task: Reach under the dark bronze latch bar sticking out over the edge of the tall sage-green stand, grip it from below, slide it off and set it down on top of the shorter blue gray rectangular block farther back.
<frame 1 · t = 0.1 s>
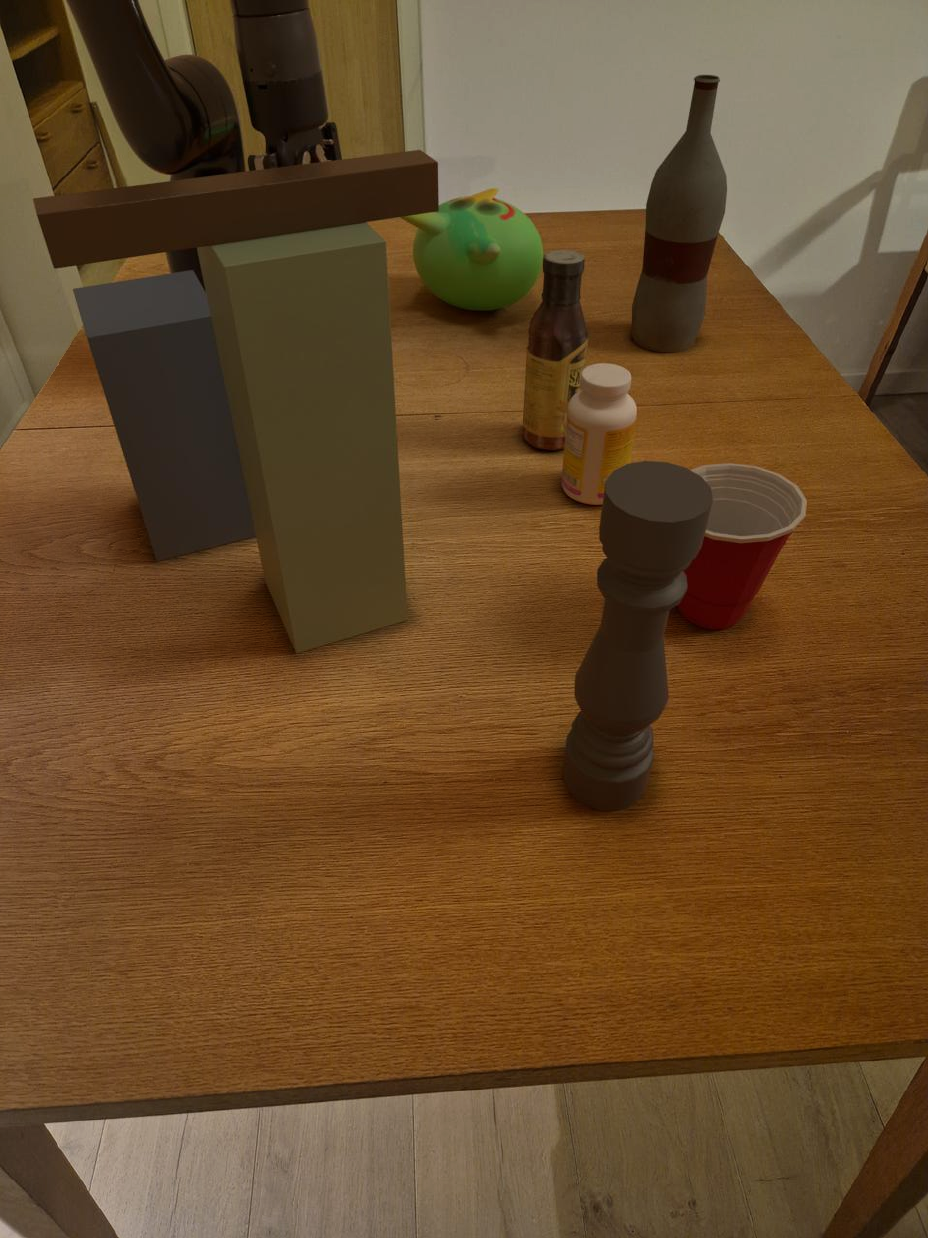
hand: (312, 246, 92), 17 cm above the table, tool pointing down, fingers open, 8 cm apart
latch bar: (253, 230, 54), point 32 cm above the table, touching tall stand
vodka: (663, 340, 115), on the table
supplement bottle: (592, 490, 89), on the table
blue gray rectangular block: (199, 519, 85), on the table
toy bird: (475, 306, 122), on the table
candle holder: (604, 777, 63), on the table
plastic cup: (706, 608, 76), on the table
tall stand: (335, 600, 77), on the table
sauce bottle: (549, 439, 97), on the table
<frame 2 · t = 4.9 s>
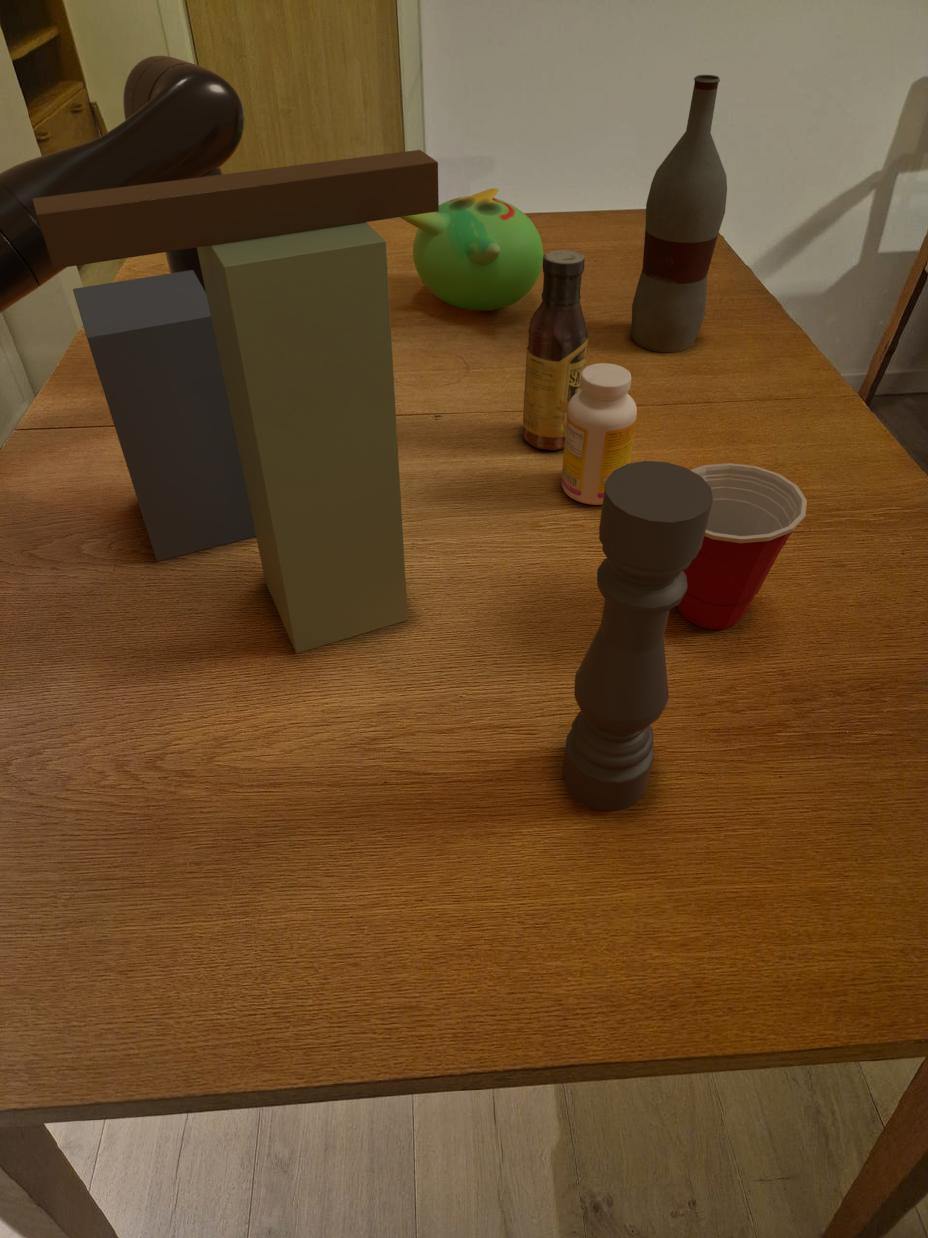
nothing on the table moved.
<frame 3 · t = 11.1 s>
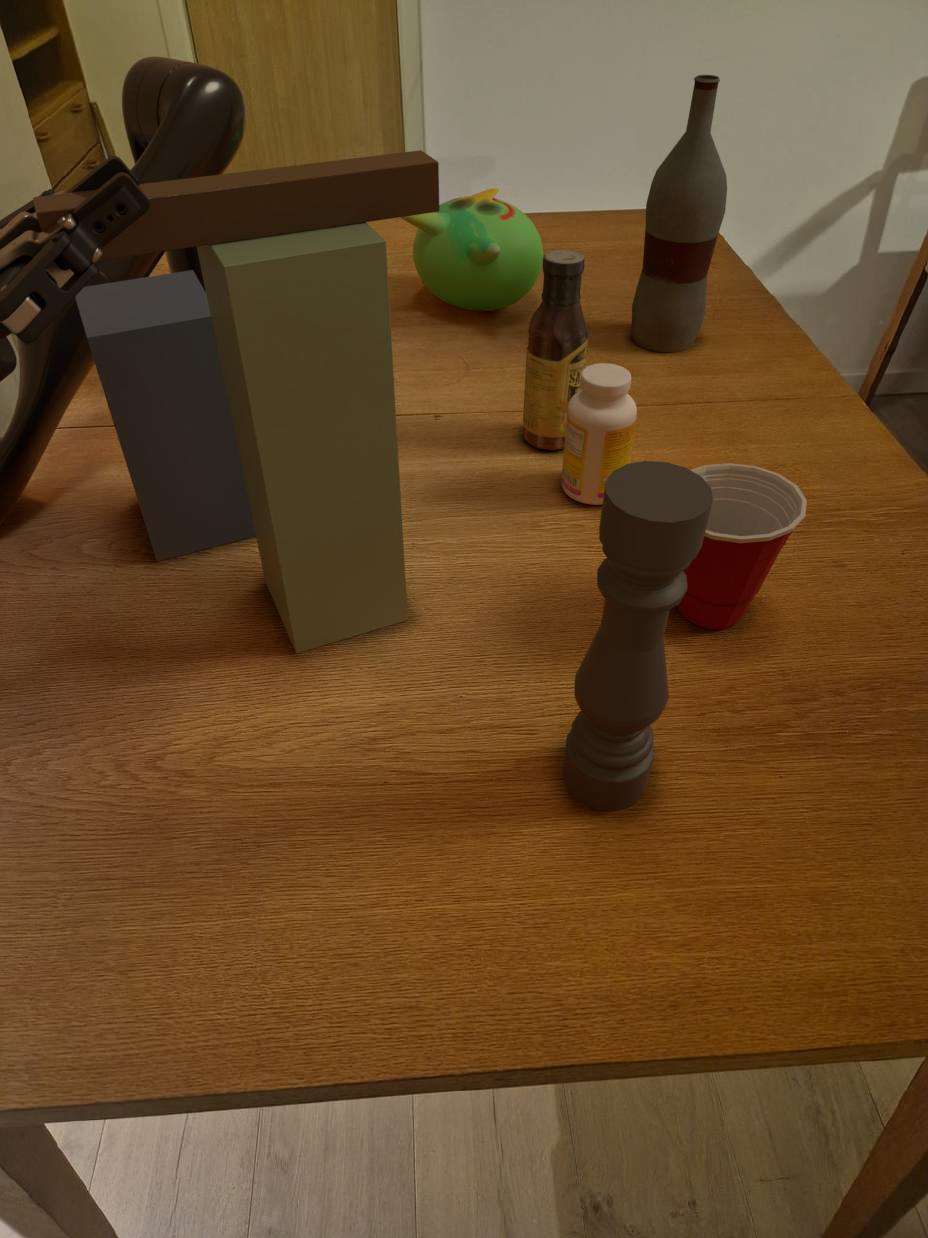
hand: (132, 179, 50), 36 cm above the table, tool pointing upward, fingers closed on latch bar, 3 cm apart
latch bar: (253, 230, 54), point 32 cm above the table, touching gripper, tall stand
everything else where it was.
when the fingers open (26 cm above the table, at t = 20.4 s): latch bar stays where it is, resting on blue gray rectangular block.
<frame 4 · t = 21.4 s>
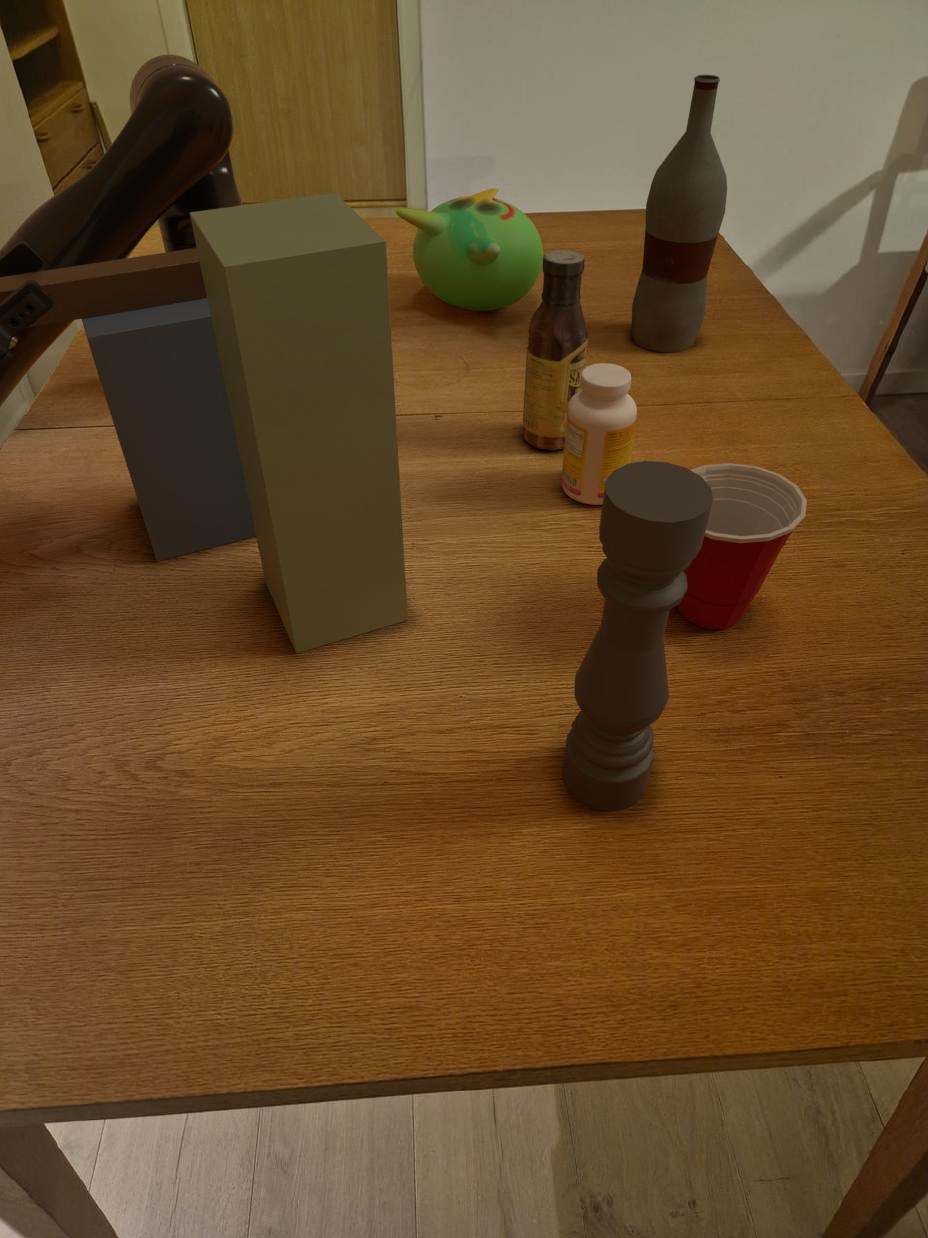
hand: (38, 269, 66), 26 cm above the table, tool pointing upward, fingers open, 8 cm apart
latch bar: (149, 300, 70), point 22 cm above the table, touching blue gray rectangular block
everything else where it was.
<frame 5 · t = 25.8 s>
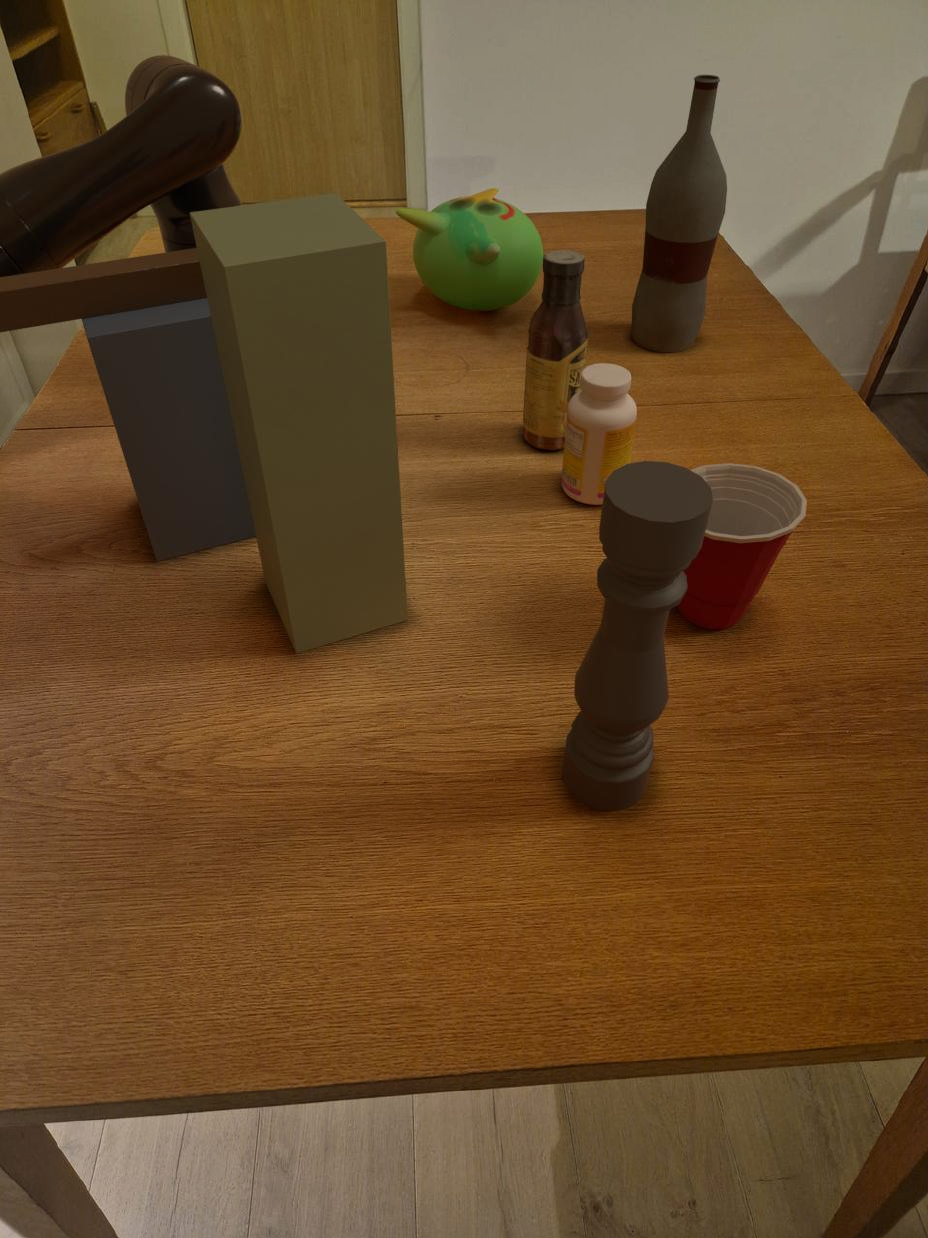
nothing on the table moved.
at the end: latch bar inside the target area on the blue gray rectangular block (0.4 cm from its centre), point 22.0 cm above the blue gray rectangular block's base; the gripper is holding nothing; latch bar tilted 0° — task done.
